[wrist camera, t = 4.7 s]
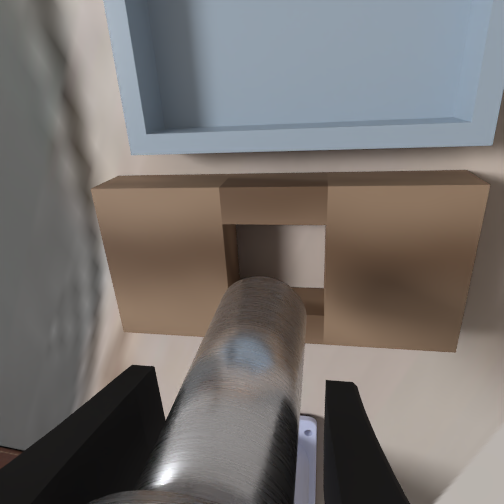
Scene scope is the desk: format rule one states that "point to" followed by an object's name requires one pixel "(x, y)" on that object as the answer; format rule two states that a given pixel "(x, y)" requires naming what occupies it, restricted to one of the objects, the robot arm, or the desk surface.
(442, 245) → the brown flat block
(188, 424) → the steel pin
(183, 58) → the tray
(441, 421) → the desk surface
